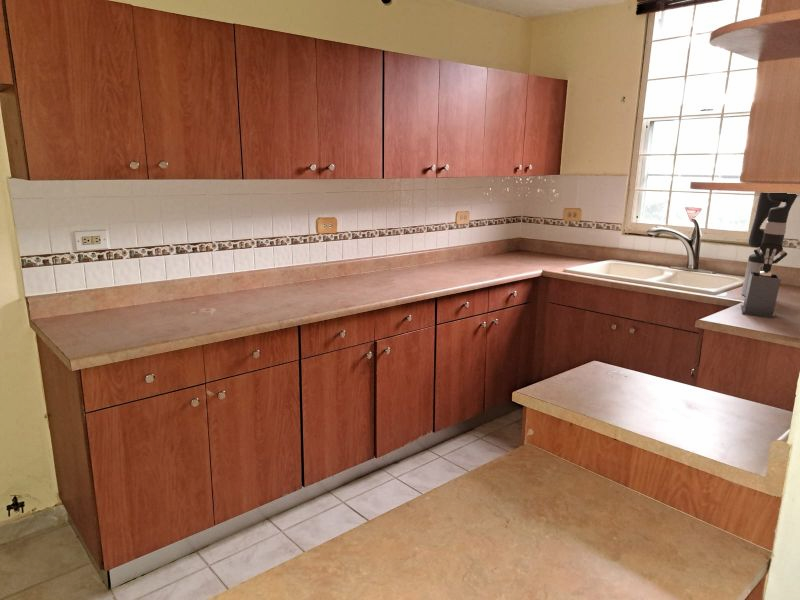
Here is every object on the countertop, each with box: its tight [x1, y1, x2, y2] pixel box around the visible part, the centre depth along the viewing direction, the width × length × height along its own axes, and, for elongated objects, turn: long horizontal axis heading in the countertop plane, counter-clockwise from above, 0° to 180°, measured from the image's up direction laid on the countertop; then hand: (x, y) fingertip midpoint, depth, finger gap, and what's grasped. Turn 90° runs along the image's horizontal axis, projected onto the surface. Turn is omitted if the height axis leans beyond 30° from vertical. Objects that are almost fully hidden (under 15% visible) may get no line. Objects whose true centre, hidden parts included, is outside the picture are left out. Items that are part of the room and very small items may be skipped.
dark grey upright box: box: [740, 272, 782, 319], centre depth 254 cm, size 12×12×17 cm
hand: (765, 272), depth 251 cm, fingers closed
